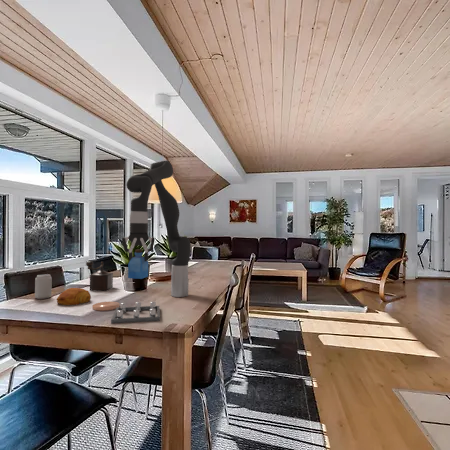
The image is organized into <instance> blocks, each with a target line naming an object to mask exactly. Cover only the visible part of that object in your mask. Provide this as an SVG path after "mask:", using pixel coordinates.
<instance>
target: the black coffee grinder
mask: <svg viewBox="0 0 450 450" xmlns="http://www.w3.org/2000/svg"><path fill="white" fill-rule="evenodd" d="M85 264H86V265H85V266H87V270H93V271H94V270H95V272H93V273H92V274H90V275H89V291H91V292H92V291H93V292H107V291H109V290H111V289H112V288H113V287H114V285H113V284H114V283H113V282H114V273H113V272H108V271H106V270H104V261H101V262H100V266H98V267H96V268H95V267H93V265H94V262H93V261H92V260H88V261H86V263H85ZM98 269H99V270H98Z"/></svg>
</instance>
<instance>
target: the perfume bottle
mask: <svg viewBox="0 0 450 450" xmlns="http://www.w3.org/2000/svg"><path fill="white" fill-rule="evenodd" d="M143 255H144V254H143V249H140V248H138V249H134V256H132V259H131V260H129V262H128V263H127V264H128V265H127V279H135V280H136V279H138V280H139V279H140V280H143V279H144V278H148V277H149V261H148V260H146V261H145V256H143Z"/></svg>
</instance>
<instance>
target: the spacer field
mask: <svg viewBox="0 0 450 450" xmlns="http://www.w3.org/2000/svg"><path fill="white" fill-rule="evenodd" d="M119 303H120V302H119ZM134 305H135V306H127V303H126V302H121V303H120V307H117V308H116V309H114V313H113V315H112V317H111V318H110V319H111V320H110V323H111V324H121V323H122V324H123V323H125V324H126V323H137V322H138V323H142V322H143V323H145V322H146V323H147V322H160V321H161V311H160V305H156V301H150V302H149V305H144V306H142V302H141V301H136V302H135V304H134ZM130 311H131V312H132V314H133V317H124V314H125V313H126V312H130ZM142 311H149V316H145V317H144V316H143V317H142V316H141V317H140V312H142ZM156 313H157V316H156Z"/></svg>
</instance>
